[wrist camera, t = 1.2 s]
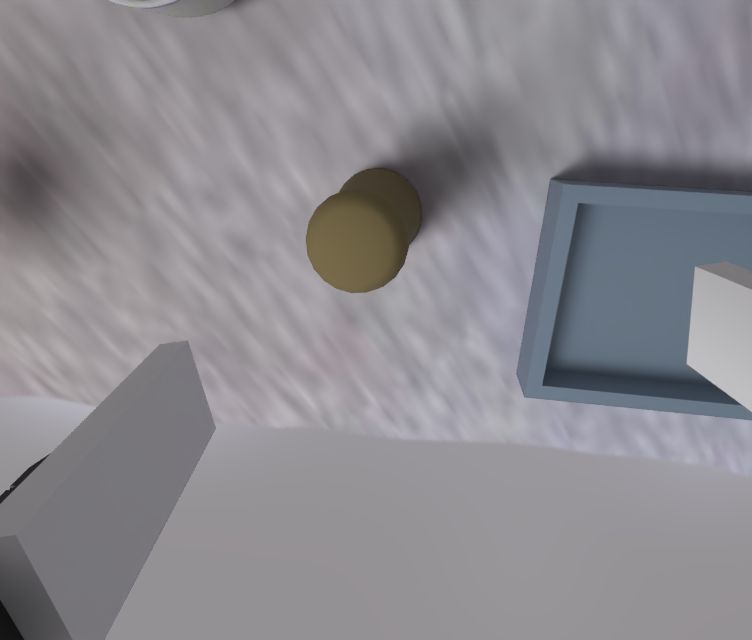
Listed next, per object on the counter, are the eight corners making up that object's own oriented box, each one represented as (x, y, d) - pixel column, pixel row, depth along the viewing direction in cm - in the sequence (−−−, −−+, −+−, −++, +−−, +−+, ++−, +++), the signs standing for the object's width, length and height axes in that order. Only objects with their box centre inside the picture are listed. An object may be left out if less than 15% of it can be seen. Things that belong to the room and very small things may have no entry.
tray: (888, 200, 29) (944, 208, 26) (803, 401, 34) (841, 429, 31) (550, 179, 31) (563, 184, 28) (516, 373, 36) (524, 397, 33)
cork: (437, 230, 33) (439, 273, 23) (363, 272, 35) (333, 329, 25) (393, 150, 32) (373, 157, 21) (317, 197, 33) (265, 225, 23)
